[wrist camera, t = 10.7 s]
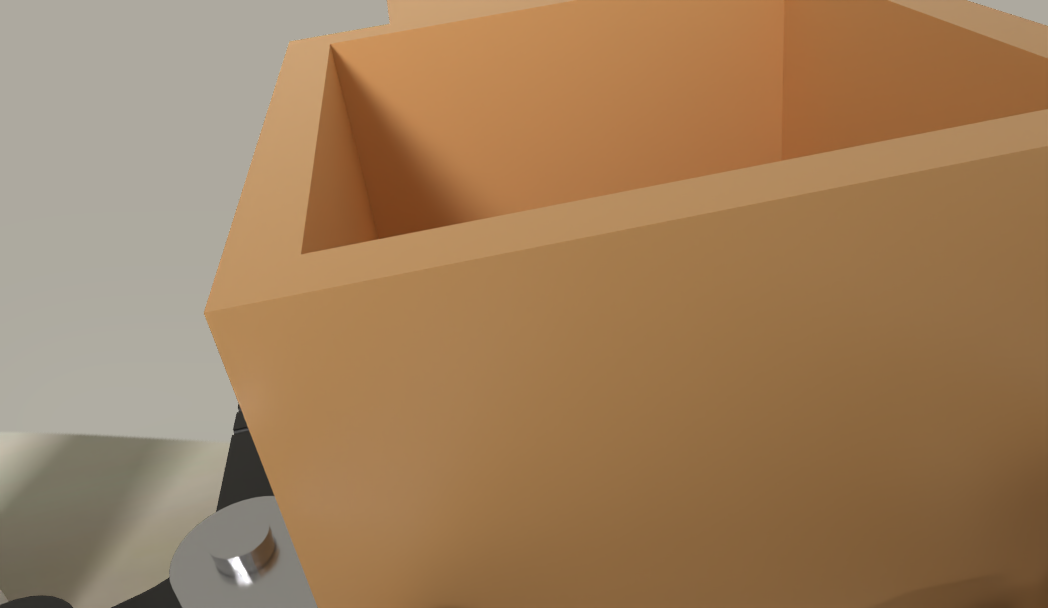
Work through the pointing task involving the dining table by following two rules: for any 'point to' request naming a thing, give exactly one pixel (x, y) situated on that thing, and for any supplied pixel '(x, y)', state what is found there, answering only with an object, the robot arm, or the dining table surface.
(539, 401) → the open-top tan box
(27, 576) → the dining table surface
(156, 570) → the dining table surface
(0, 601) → the supplement can
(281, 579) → the robot arm
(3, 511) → the dining table surface
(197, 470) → the dining table surface
